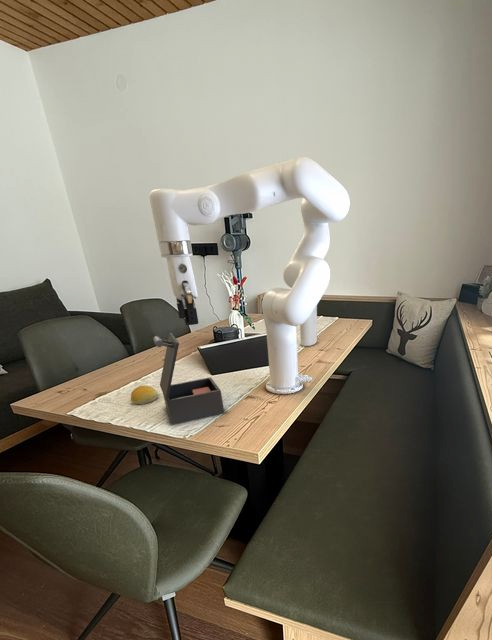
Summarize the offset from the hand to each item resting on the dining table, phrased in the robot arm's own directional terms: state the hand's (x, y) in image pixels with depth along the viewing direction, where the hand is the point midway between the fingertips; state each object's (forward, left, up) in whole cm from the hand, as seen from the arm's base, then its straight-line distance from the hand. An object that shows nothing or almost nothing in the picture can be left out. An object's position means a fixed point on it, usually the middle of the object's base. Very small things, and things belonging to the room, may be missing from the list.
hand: (188, 320), depth 96 cm
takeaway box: (+3, +1, -26) cm, 26 cm away
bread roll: (+22, -9, -26) cm, 35 cm away
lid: (+7, +3, -11) cm, 14 cm away
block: (0, 0, -26) cm, 26 cm away
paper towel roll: (-34, -65, -26) cm, 78 cm away
